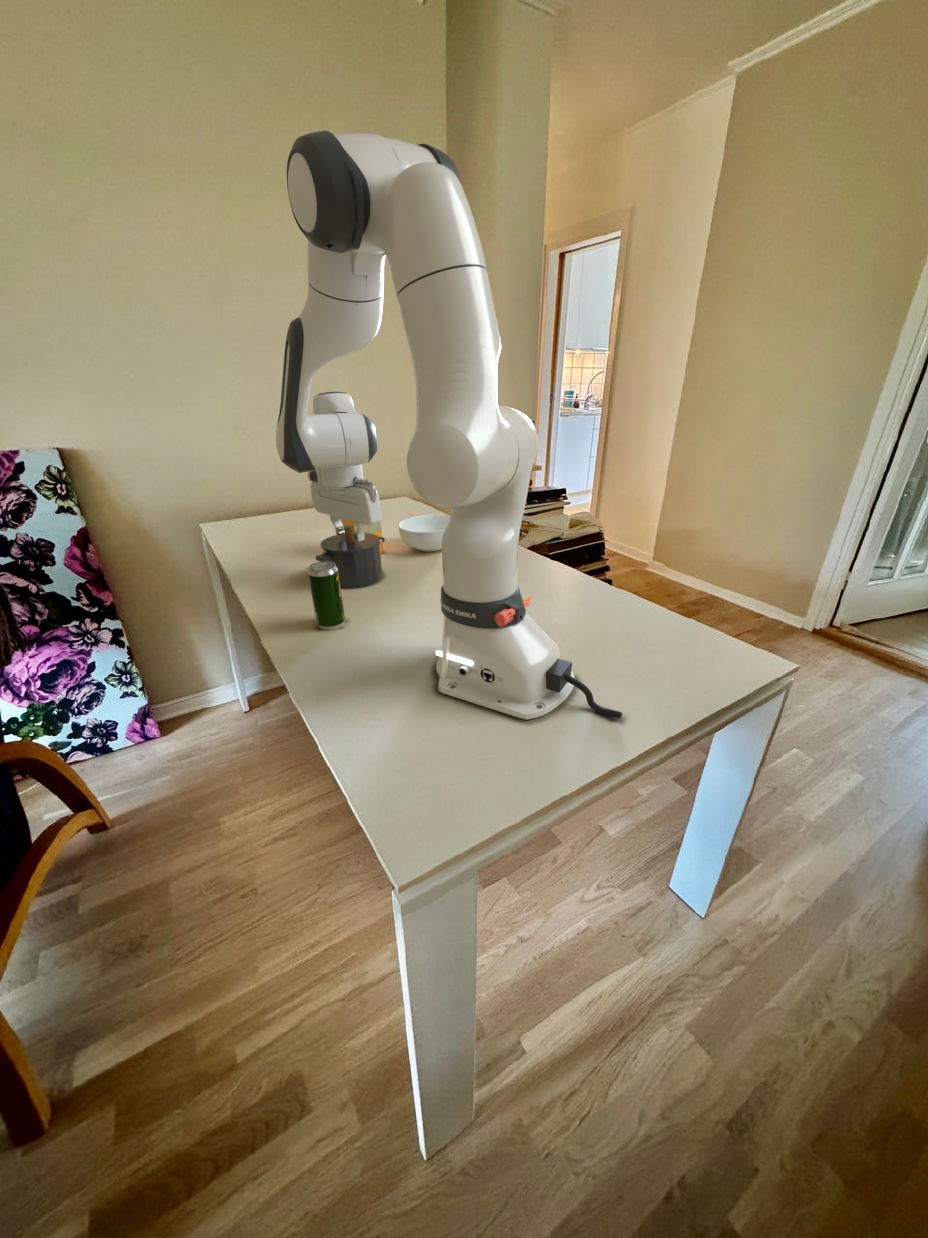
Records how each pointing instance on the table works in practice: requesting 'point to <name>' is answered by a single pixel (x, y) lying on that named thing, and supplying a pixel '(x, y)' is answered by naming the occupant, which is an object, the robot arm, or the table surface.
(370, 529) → the orange juice
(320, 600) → the beer can
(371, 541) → the pot lid
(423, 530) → the cereal bowl
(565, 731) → the table surface
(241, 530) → the table surface
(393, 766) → the table surface
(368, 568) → the pot
